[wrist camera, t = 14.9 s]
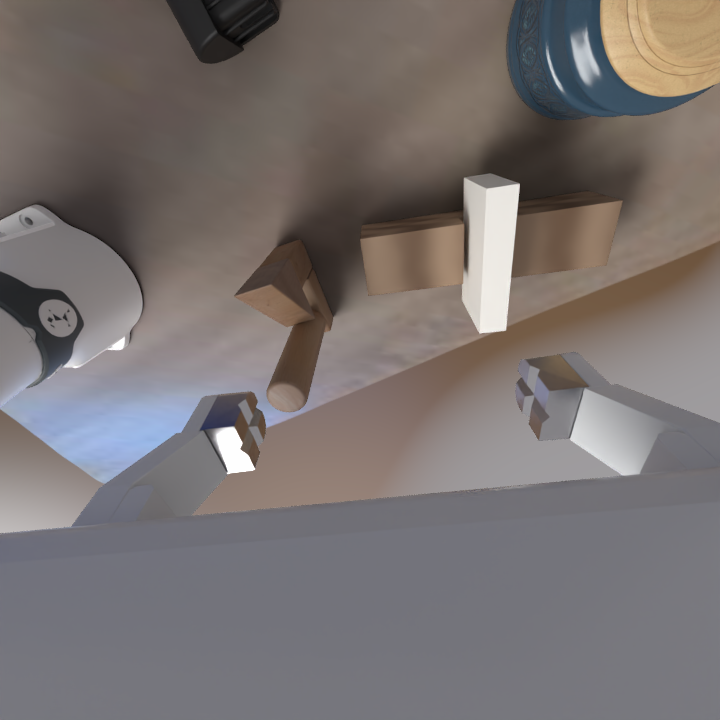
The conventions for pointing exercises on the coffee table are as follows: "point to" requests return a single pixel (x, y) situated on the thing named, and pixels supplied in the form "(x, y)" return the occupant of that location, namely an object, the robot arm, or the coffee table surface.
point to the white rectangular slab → (488, 248)
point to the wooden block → (291, 319)
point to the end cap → (222, 24)
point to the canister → (612, 55)
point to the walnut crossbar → (531, 245)
